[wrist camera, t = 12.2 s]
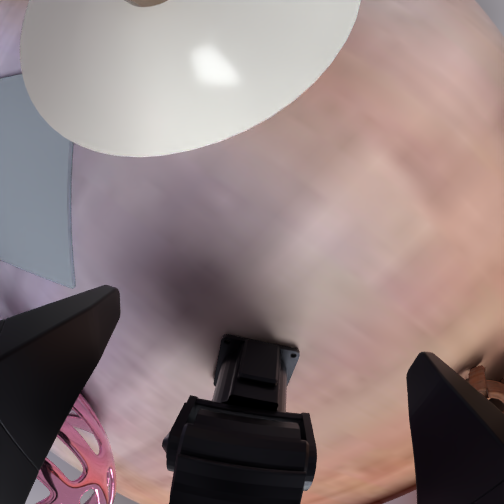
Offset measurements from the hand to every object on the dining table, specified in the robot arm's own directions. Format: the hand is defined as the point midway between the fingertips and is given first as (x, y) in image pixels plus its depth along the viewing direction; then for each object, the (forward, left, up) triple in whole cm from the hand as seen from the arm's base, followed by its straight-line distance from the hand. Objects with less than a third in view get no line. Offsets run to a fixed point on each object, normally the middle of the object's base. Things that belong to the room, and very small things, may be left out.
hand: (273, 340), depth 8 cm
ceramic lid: (+12, +8, -7) cm, 16 cm away
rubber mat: (-1, +26, -13) cm, 29 cm away
